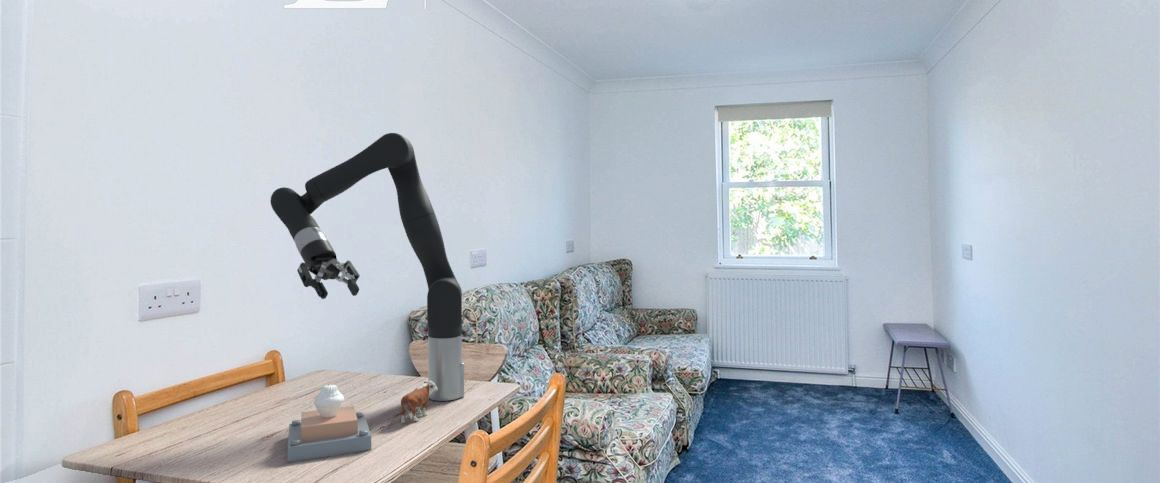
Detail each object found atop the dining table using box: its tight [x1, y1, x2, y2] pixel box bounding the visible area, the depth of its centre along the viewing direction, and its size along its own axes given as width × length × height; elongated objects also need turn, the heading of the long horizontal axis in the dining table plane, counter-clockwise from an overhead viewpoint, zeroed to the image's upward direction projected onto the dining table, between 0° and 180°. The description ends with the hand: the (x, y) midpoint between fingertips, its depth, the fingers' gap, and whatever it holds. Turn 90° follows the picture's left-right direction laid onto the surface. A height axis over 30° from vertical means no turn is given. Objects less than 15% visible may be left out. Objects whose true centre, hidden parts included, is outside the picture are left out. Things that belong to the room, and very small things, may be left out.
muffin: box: [313, 384, 345, 418], centre depth 129 cm, size 6×6×7 cm
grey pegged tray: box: [287, 405, 372, 463], centre depth 129 cm, size 16×16×6 cm
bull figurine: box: [400, 380, 438, 424], centre depth 147 cm, size 4×13×8 cm, turn 161°
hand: (341, 295), depth 146 cm, fingers open, 8 cm apart
